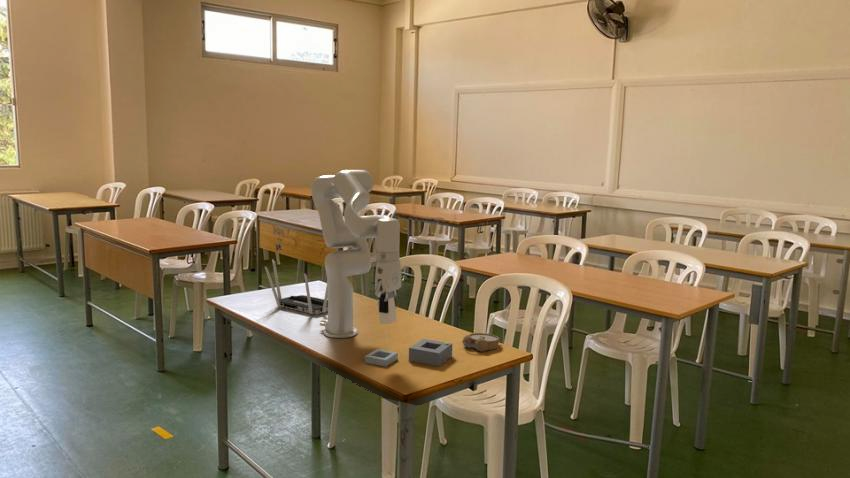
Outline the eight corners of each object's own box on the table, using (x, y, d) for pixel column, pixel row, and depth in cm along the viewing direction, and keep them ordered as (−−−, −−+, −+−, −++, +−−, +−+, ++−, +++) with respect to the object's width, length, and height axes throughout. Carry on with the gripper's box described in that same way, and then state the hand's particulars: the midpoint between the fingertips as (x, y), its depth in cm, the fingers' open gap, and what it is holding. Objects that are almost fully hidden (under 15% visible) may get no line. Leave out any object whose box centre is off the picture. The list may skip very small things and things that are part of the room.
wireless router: (352, 309, 271) (352, 264, 267) (315, 322, 251) (315, 273, 248) (294, 297, 288) (293, 255, 285) (256, 308, 269) (255, 263, 266)
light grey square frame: (364, 362, 208) (364, 356, 208) (376, 355, 215) (377, 349, 215) (385, 366, 205) (385, 360, 204) (397, 359, 212) (397, 352, 211)
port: (408, 360, 211) (409, 346, 210) (423, 351, 220) (423, 337, 220) (438, 366, 206) (439, 352, 205) (452, 356, 216) (452, 342, 215)
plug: (380, 323, 207) (376, 293, 206) (386, 320, 211) (383, 291, 210) (390, 323, 205) (387, 293, 204) (396, 320, 209) (393, 291, 208)
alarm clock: (505, 338, 228) (482, 340, 216) (503, 351, 228) (480, 354, 217) (480, 331, 235) (456, 333, 224) (478, 344, 235) (454, 347, 224)
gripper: (384, 261, 196) (384, 318, 198) (410, 253, 210) (409, 306, 213) (364, 259, 199) (364, 315, 202) (390, 251, 214) (390, 303, 217)
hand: (387, 310), depth 207 cm, fingers closed on plug, 4 cm apart
